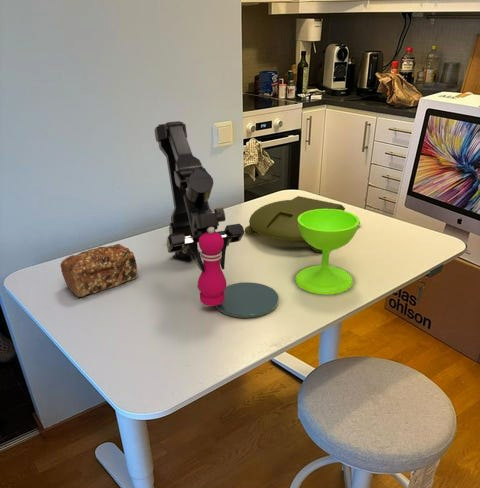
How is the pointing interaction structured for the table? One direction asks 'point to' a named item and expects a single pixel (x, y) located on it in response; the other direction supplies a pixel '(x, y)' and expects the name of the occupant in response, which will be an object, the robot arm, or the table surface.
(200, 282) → the pepper mill
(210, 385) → the table surface
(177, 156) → the robot arm
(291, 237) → the spaceship
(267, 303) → the plate
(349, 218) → the wineglass
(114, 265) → the bread
